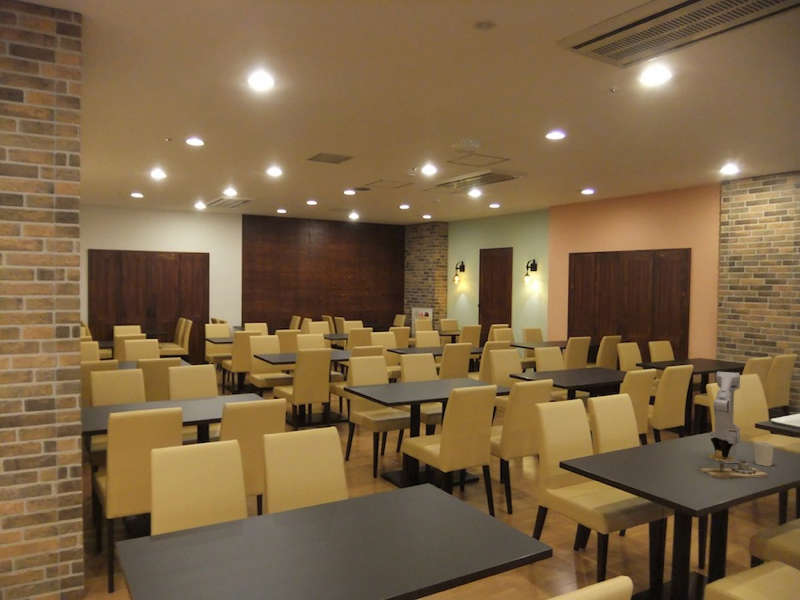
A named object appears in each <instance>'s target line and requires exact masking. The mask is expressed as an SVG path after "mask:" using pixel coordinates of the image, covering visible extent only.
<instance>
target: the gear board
mask: <svg viewBox="0 0 800 600" xmlns="http://www.w3.org/2000/svg"><path fill="white" fill-rule="evenodd" d="M738 461H739V460H738ZM724 464H725V463H719V467H701V468H700V470H701V471H700V470H699V471H700V472H702V471H703V473H704V472H705V473H704V474H706V473H707V475H708V474H709V475H708V476H710V475H711V476H710V477H712V476H713V477H712V478H714V477H715V478H714V479H716V478H719V479H745V478H746V479H747V478H748V479H749V478H750V479H751V478H752V477H756V478H770V474H768V473H766V472H764V471H761V470H759V469H757V468H754V467H752V466H750V463H749V462H748V461H746V459H741V461H739V462H738V463H737V465H736V466H731V467H724V466H725V465H724ZM752 479H753V478H752Z"/></svg>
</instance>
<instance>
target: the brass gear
mask: <svg viewBox="0 0 800 600" xmlns="http://www.w3.org/2000/svg"><path fill="white" fill-rule="evenodd" d="M709 458H710V459H711V460H716V461H717V462H721V461H724V462H727V461H730V462H731V461H732V460H734V458H732V456H728V457H722V450H721V449H716V454H715V453H711V454H709ZM724 462H723V463H724Z"/></svg>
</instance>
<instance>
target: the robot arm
mask: <svg viewBox="0 0 800 600" xmlns="http://www.w3.org/2000/svg"><path fill="white" fill-rule="evenodd" d="M715 378H716V379H715V381H716V384H717V387H718V388H719V390H718V391H717V394H716V398H715V400H713V404H712V405H713V415H714V431H709V436H710V440H709V441H711V443H712V445H713V448H714V451H715V453H714V454H716V449H721V450H722V457H728V456H732V458H734V460H732V461H731V462H730V461H727V462H724V461H720V462H722V463H723V464H738V462H739V460H737V455H738V454H737V448H738V446H737V445H738V444H740V442H741V432H740V431H741V429H740V426H738V425H737V424H735V423H734V415H735V414H734V411H735V410H734V409H735V407H734V406H735V392H736V391H737V390H740V387H741V375H740V372H730V371H729V372H727V371H717V372H716V376H715Z"/></svg>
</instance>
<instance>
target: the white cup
mask: <svg viewBox="0 0 800 600" xmlns="http://www.w3.org/2000/svg"><path fill="white" fill-rule="evenodd" d="M753 446H754V448H753V449H754V459H755V461H754V462H755V464H756V465H759V466H762V465H763V466H762V467H772V466H773V458H774V457H773V456H774V444H773V443H772V442H766V441H754V442H753ZM771 465H772V466H771Z"/></svg>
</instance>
